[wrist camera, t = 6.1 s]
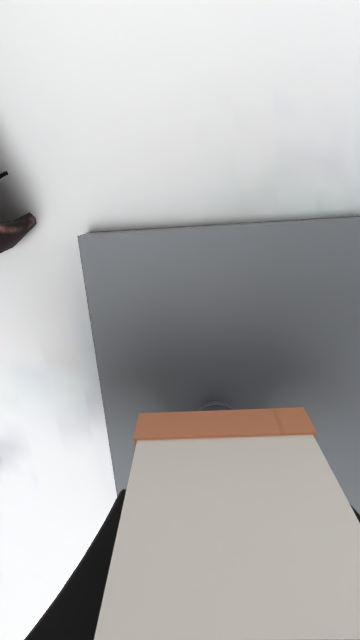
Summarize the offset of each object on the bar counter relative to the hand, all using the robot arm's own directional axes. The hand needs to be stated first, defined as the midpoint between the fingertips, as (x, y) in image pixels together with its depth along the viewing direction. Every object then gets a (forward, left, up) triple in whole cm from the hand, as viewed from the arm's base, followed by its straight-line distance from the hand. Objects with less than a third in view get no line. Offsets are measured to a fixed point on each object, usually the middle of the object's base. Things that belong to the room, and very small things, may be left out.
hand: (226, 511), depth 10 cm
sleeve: (0, 0, -1) cm, 1 cm away
